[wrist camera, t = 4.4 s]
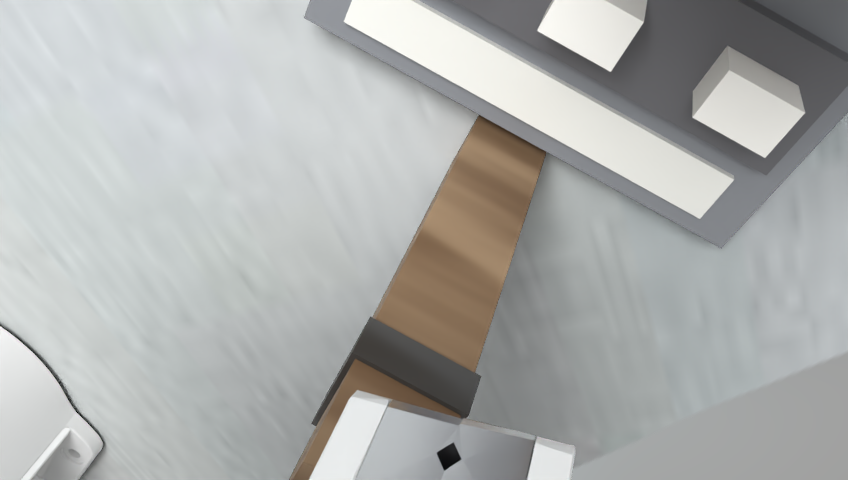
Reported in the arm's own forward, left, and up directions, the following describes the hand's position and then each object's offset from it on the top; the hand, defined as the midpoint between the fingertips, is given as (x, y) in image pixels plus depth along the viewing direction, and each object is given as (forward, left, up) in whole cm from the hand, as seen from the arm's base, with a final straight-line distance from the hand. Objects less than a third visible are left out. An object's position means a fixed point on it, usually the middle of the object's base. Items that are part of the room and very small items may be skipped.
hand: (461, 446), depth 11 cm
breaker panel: (0, 0, -21) cm, 21 cm away
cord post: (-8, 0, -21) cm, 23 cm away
